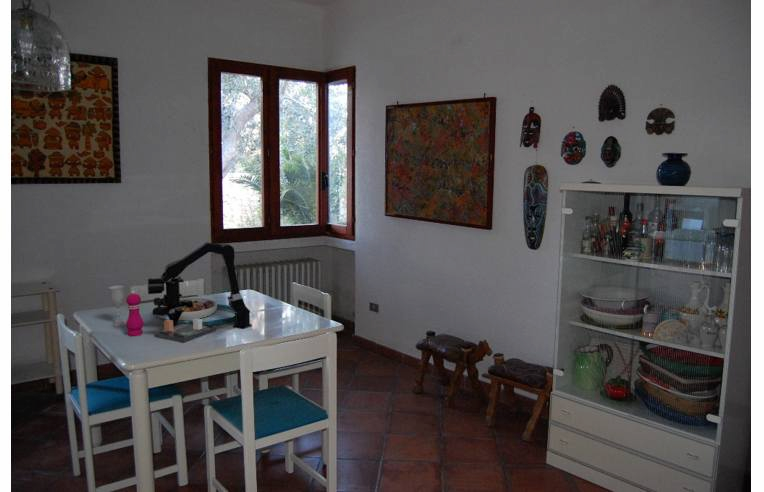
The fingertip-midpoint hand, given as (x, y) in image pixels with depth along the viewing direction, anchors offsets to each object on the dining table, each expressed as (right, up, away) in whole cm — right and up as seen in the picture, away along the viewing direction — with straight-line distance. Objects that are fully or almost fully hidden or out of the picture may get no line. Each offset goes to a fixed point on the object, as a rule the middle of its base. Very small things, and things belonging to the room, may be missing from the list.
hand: (174, 326), depth 262 cm
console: (+5, -4, +1) cm, 6 cm away
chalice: (-31, -1, +14) cm, 34 cm away
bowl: (-6, +1, +34) cm, 34 cm away
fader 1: (-1, -1, -3) cm, 3 cm away
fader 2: (+11, -1, 0) cm, 11 cm away
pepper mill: (-17, -4, 0) cm, 18 cm away
